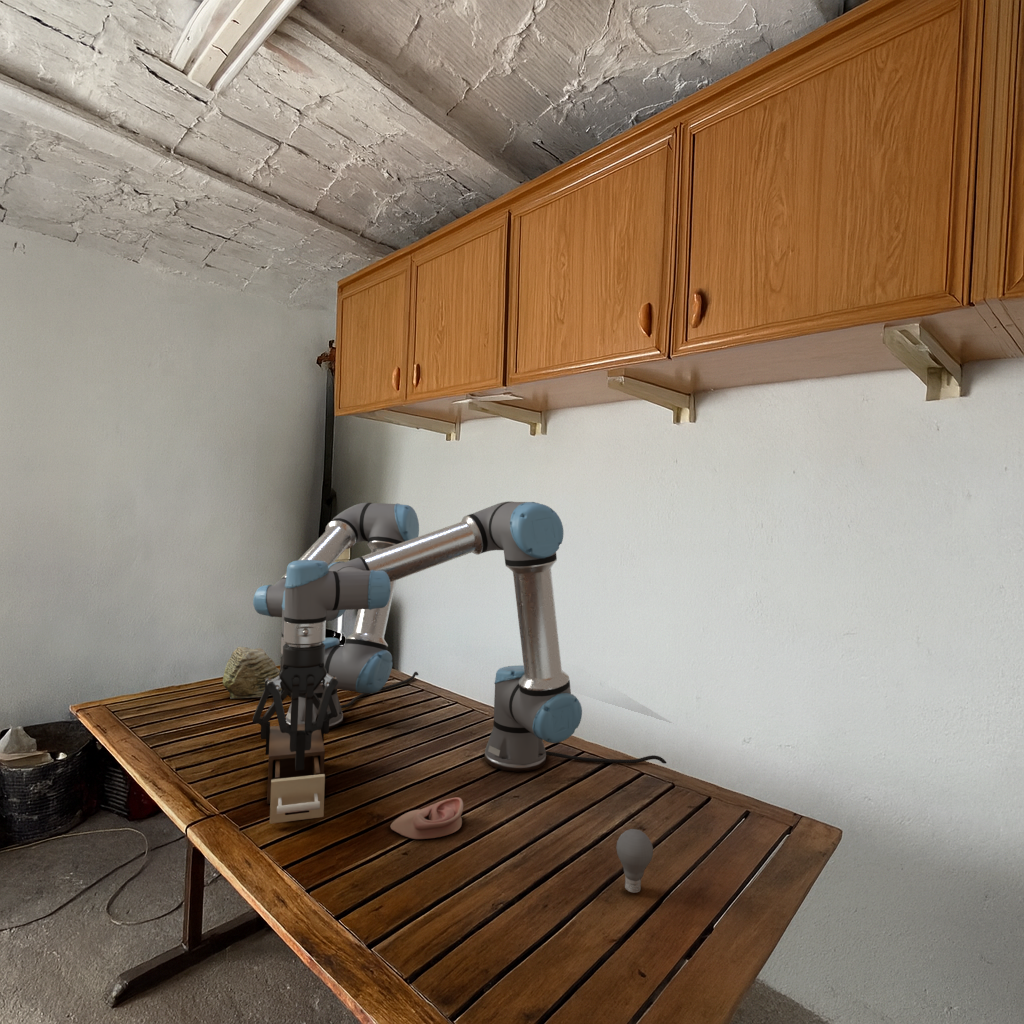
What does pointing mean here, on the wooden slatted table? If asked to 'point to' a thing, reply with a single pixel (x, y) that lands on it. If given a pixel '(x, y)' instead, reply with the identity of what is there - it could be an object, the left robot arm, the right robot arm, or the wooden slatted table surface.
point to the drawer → (297, 791)
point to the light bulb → (634, 857)
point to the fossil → (248, 672)
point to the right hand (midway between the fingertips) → (299, 767)
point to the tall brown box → (281, 750)
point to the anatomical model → (431, 820)
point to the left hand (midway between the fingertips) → (294, 750)
